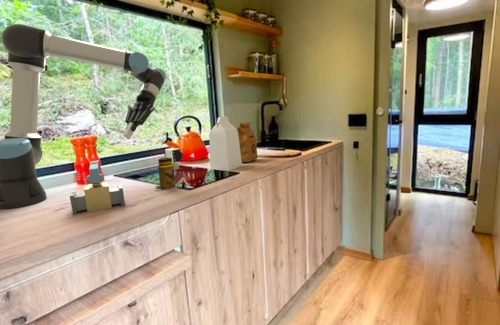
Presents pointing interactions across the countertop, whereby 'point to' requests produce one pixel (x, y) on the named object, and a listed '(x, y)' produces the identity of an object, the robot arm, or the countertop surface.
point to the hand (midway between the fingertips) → (126, 136)
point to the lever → (95, 173)
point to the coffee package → (247, 143)
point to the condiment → (166, 174)
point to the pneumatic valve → (174, 156)
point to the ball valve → (97, 197)
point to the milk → (224, 146)
